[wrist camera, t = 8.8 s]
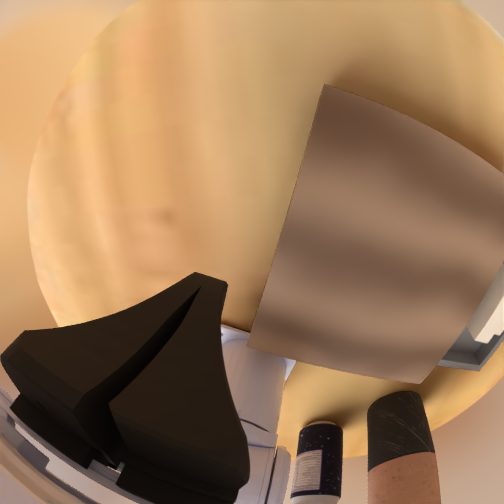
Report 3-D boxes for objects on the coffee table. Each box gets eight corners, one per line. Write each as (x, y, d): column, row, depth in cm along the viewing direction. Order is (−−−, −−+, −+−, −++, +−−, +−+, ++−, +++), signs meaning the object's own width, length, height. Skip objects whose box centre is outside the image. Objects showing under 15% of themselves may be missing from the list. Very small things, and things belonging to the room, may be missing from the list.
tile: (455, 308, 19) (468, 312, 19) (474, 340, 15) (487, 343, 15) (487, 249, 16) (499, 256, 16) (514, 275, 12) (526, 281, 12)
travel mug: (383, 387, 25) (392, 558, 7) (434, 390, 24) (458, 536, 6) (354, 421, 28) (348, 562, 10) (402, 423, 27) (410, 550, 9)
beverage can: (302, 437, 31) (292, 511, 21) (297, 419, 29) (285, 503, 19) (342, 434, 30) (339, 510, 19) (342, 415, 28) (340, 502, 17)
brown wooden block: (411, 354, 22) (420, 384, 19) (255, 315, 23) (246, 346, 20) (499, 182, 14) (528, 194, 11) (320, 94, 15) (324, 84, 12)
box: (472, 357, 21) (479, 371, 19) (418, 347, 22) (424, 363, 20) (544, 231, 14) (556, 239, 12) (498, 194, 15) (513, 202, 13)
